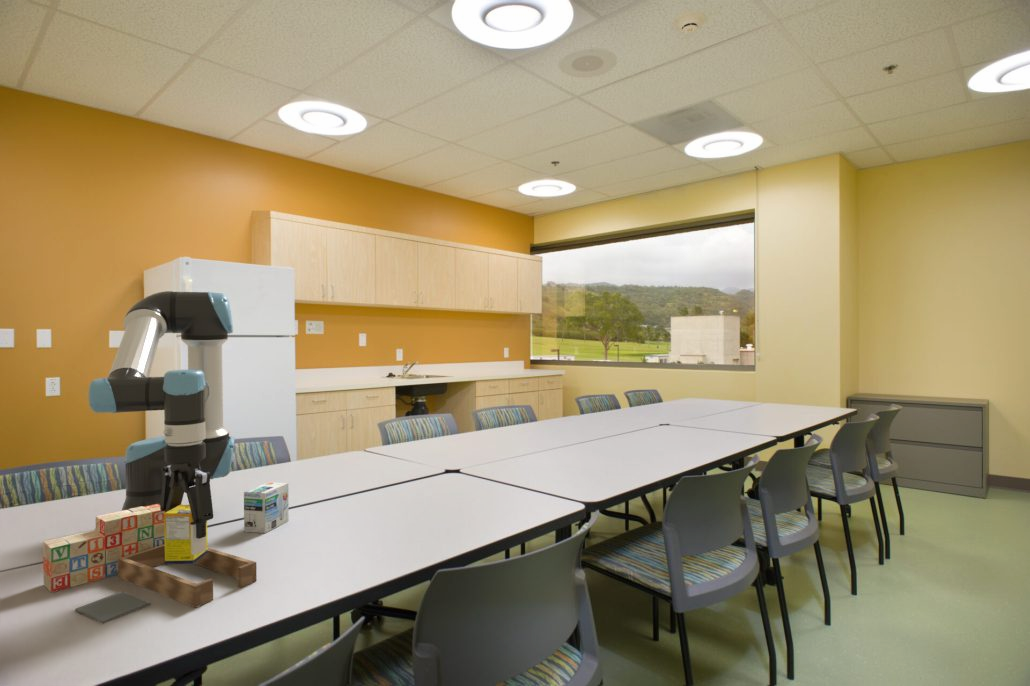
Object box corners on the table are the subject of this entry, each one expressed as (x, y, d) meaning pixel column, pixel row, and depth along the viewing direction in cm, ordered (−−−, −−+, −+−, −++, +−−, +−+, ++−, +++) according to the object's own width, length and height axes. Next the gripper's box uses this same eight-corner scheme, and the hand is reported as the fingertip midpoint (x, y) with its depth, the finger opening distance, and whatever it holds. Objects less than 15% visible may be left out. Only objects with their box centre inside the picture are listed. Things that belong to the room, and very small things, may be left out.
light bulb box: (265, 534, 144) (264, 493, 144) (242, 532, 146) (242, 491, 145) (289, 520, 155) (289, 482, 155) (268, 519, 156) (268, 481, 156)
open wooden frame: (118, 577, 118) (117, 558, 118) (179, 556, 130) (179, 539, 130) (195, 607, 105) (195, 586, 105) (256, 581, 116) (256, 562, 116)
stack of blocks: (50, 594, 111) (49, 533, 111) (43, 585, 115) (42, 526, 115) (168, 560, 128) (168, 507, 127) (158, 553, 132) (158, 502, 131)
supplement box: (208, 553, 121) (207, 503, 120) (193, 564, 115) (192, 512, 114) (180, 553, 120) (180, 503, 120) (164, 565, 114) (163, 513, 114)
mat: (75, 610, 104) (75, 608, 104) (122, 593, 111) (122, 591, 111) (102, 623, 99) (102, 621, 99) (149, 604, 106) (149, 602, 106)
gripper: (139, 440, 119) (141, 545, 119) (196, 451, 109) (198, 565, 109) (175, 434, 125) (176, 533, 126) (232, 444, 115) (233, 551, 116)
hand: (186, 548), depth 117 cm, fingers closed on supplement box, 8 cm apart
